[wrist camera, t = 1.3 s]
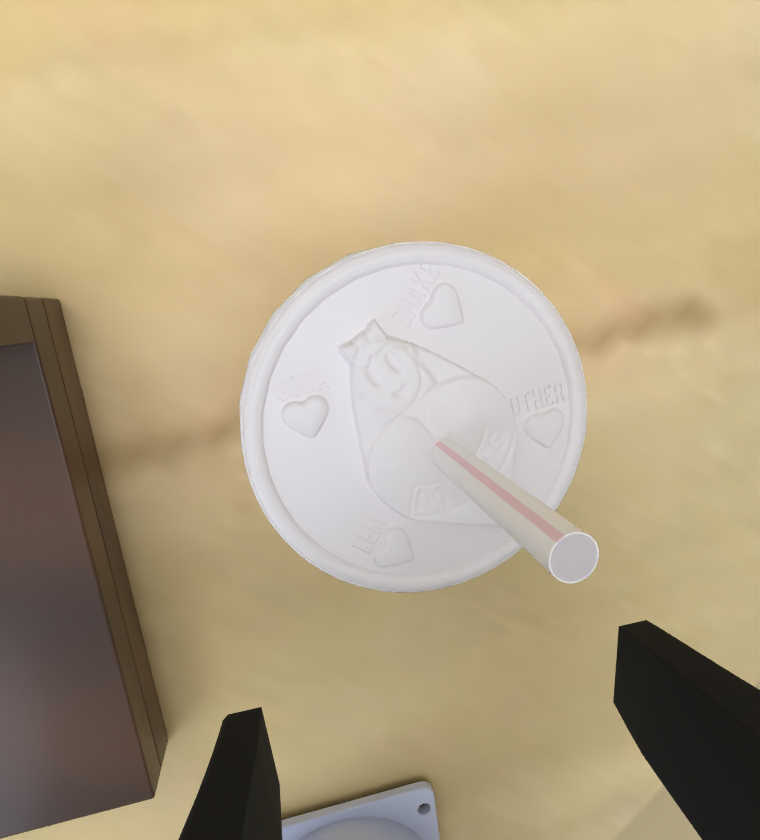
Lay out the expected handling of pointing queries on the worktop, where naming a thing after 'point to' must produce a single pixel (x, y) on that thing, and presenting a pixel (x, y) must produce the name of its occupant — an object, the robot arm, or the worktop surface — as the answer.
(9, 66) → the worktop surface
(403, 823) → the robot arm
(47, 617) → the shelf
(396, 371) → the smoothie
